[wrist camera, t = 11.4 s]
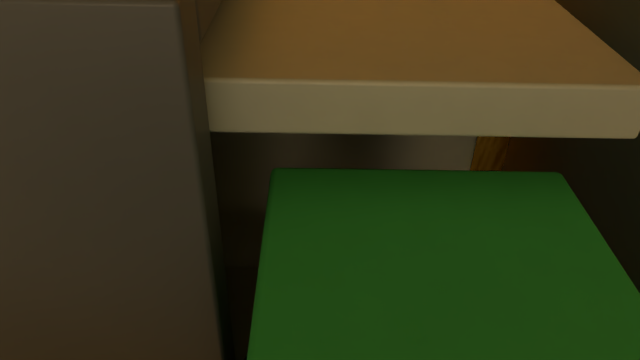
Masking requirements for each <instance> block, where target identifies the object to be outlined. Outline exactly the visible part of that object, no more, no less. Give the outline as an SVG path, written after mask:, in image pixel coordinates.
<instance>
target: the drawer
mask: <svg viewBox="0 0 640 360" xmlns="http://www.w3.org/2000/svg"><path fill="white" fill-rule="evenodd" d="M200 51H201V60H202V68H203V77H204V86H205V95H206V104H207V113H208V121H209V130H210V139H211V148H212V157H213V166H214V175H215V183H216V192H217V201H218V210H219V219H220V228H221V237H222V245H223V254H224V263H225V272H226V281H227V290H228V299H229V307H230V316H231V325H232V334H233V343H234V352H235V360H243V359H244V358H245V356H246V355H247V354H248V346H249V338H250V330H251V322H252V315H253V307H254V299H255V291H256V283H257V275H258V268H259V260H260V252H261V244H262V236H263V228H264V221H265V213H266V205H267V197H268V189H269V181H270V174H271V172H272V170H273V169H274V168H277V167H280V168H343V169H406V170H470V168H471V163H472V159H473V154H474V150H475V145H476V141H477V136H489V137H510V141H509V144H508V148H507V152H506V156H505V159H504V163H503V167H502V171H533V172H558V173H560V174H562V175H563V177H564V178H565V180H566V181H567V183H568V185H569V186H570V188H571V189H572V191H573V192H574V194H575V195H576V197H577V198H578V200H579V201H580V203H581V204H582V206H583V207H584V209H585V211H586V212H587V214H588V215H589V217H590V218H591V220H592V221H593V223H594V224H595V226H596V227H597V229H598V230H599V232H600V234H601V235H602V237H603V238H604V240H605V241H606V243H607V244H608V246H609V247H610V249H611V250H612V252H613V253H614V255H615V256H616V258H617V260H618V261H619V263H620V264H621V266H622V267H623V269H624V270H625V272H626V273H627V275H628V276H629V278H630V279H631V281H632V282H633V284H634V286H635V287H636V289H637V290H638V292H639V293H640V0H221V2H220V4H219V6H218V9H217V11H216V13H215V15H214V17H213V19H212V21H211V23H210V25H209V27H208V29H207V31H206V34H205V36H204V38H203V40H202V42H201V44H200Z"/></svg>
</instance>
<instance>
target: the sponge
mask: <svg viewBox="0 0 640 360" xmlns="http://www.w3.org/2000/svg"><path fill="white" fill-rule="evenodd" d="M247 360H640V293H639V292H638V290H637V289H636V287H635V286H634V284H633V282H632V281H631V279H630V278H629V276H628V275H627V273H626V272H625V270H624V269H623V267H622V266H621V264H620V263H619V261H618V260H617V258H616V256H615V255H614V253H613V252H612V250H611V249H610V247H609V246H608V244H607V243H606V241H605V240H604V238H603V237H602V235H601V234H600V232H599V230H598V229H597V227H596V226H595V224H594V223H593V221H592V220H591V218H590V217H589V215H588V214H587V212H586V211H585V209H584V207H583V206H582V204H581V203H580V201H579V200H578V198H577V197H576V195H575V194H574V192H573V191H572V189H571V188H570V186H569V185H568V183H567V181H566V180H565V178H564V177H563V175H562V174H560V173H558V172H533V171H470V170H406V169H343V168H280V167H277V168H274V169H273V170H272V172H271V174H270V181H269V189H268V197H267V205H266V213H265V221H264V228H263V236H262V244H261V252H260V260H259V268H258V275H257V283H256V291H255V299H254V307H253V315H252V322H251V330H250V338H249V346H248V354H247Z"/></svg>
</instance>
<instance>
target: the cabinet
mask: <svg viewBox="0 0 640 360" xmlns="http://www.w3.org/2000/svg"><path fill="white" fill-rule="evenodd" d="M220 2H221V0H0V360H235V352H234V343H233V334H232V325H231V316H230V307H229V299H228V290H227V281H226V272H225V263H224V254H223V245H222V237H221V228H220V219H219V210H218V201H217V192H216V183H215V175H214V166H213V157H212V148H211V139H210V130H209V121H208V113H207V104H206V95H205V86H204V77H203V68H202V60H201V51H200V44H201V42H202V40H203V38H204V36H205V34H206V31H207V29H208V27H209V25H210V23H211V21H212V19H213V17H214V15H215V13H216V11H217V9H218V6H219V4H220Z"/></svg>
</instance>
